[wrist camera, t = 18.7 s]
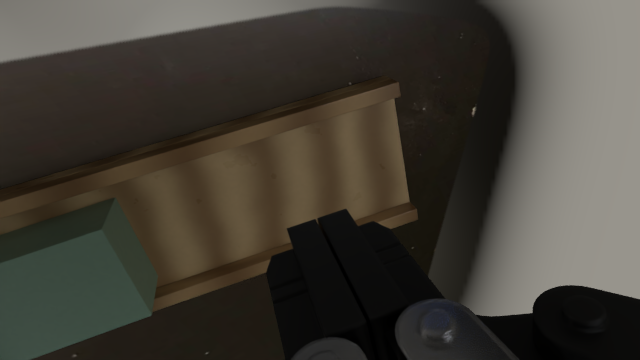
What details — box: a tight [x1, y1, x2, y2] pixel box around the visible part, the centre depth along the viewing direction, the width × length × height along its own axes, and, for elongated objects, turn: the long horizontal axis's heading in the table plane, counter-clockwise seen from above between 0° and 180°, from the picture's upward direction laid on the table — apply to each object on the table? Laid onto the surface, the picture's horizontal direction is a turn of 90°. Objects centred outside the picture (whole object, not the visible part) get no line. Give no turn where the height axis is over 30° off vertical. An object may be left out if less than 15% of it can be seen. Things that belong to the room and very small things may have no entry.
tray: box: [0, 76, 418, 312], centre depth 35 cm, size 36×13×3 cm, turn 103°
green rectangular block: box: [0, 197, 158, 360], centre depth 31 cm, size 11×8×5 cm
